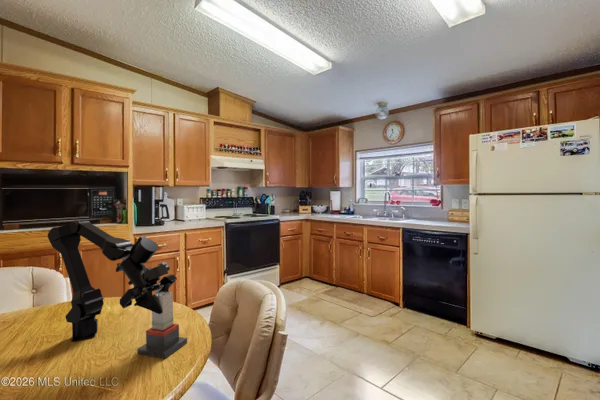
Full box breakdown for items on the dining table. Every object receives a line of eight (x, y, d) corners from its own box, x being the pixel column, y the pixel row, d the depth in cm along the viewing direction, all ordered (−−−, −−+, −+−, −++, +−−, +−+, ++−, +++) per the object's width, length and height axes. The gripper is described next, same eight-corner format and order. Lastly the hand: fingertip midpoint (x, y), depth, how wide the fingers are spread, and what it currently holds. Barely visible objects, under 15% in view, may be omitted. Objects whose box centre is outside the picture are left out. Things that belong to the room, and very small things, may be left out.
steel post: (151, 334, 92) (151, 295, 92) (162, 328, 96) (161, 291, 96) (163, 336, 91) (163, 296, 91) (173, 330, 95) (173, 292, 95)
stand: (137, 353, 90) (137, 332, 90) (161, 338, 100) (161, 319, 100) (164, 358, 87) (164, 336, 87) (187, 342, 97) (186, 322, 97)
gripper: (126, 262, 86) (159, 304, 83) (172, 250, 103) (200, 285, 100) (105, 287, 88) (136, 329, 85) (153, 271, 106) (180, 306, 103)
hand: (166, 310), depth 93 cm, fingers closed on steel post, 4 cm apart
